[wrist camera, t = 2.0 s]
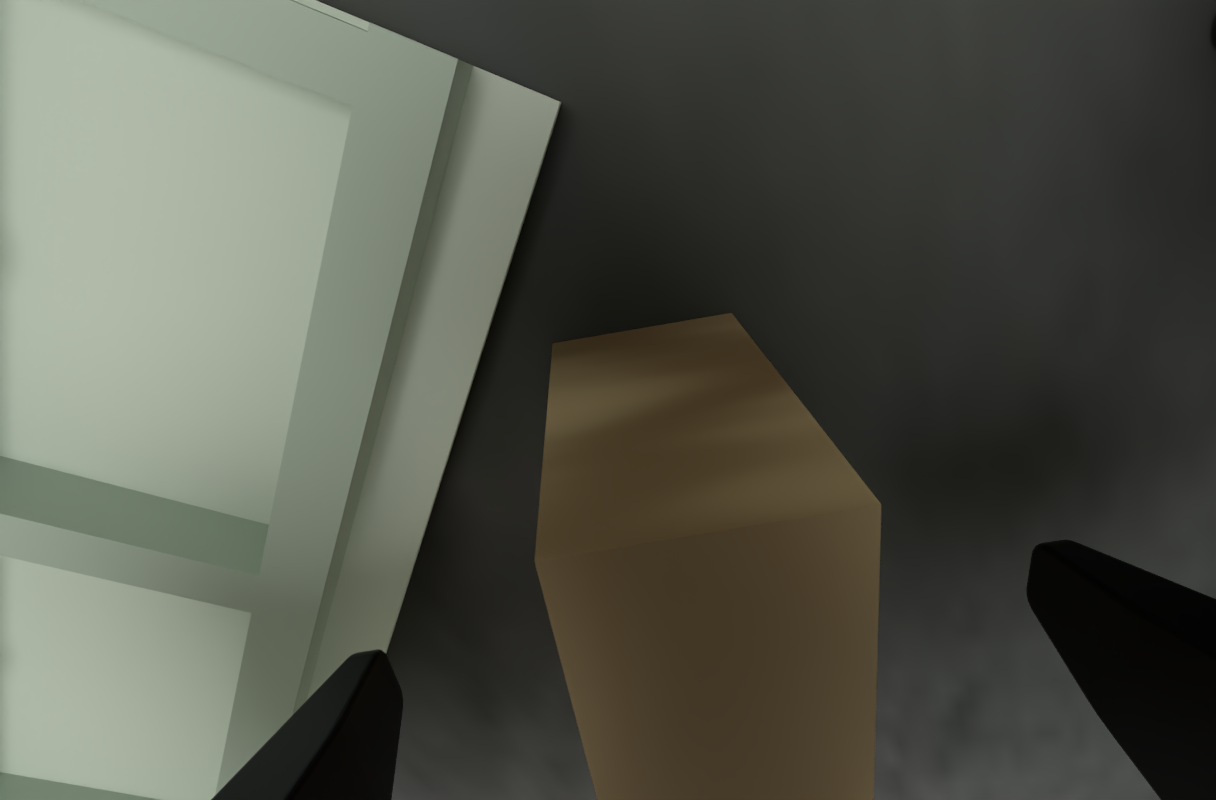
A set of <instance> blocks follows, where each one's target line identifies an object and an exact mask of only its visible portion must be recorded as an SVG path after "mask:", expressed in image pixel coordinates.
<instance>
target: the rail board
mask: <svg viewBox="0 0 1216 800" xmlns="http://www.w3.org/2000/svg"><path fill="white" fill-rule="evenodd" d="M560 106H561V102H559V101H557V100H554V99H552V98H550V97H547V96H545V95H542V94H540V93H538V92H535V91H533V90H530V89H528V88H526V87H523V86H521V85H518V84H516V83H514V82H511V81H509V80H506V79H504V78H502V77H499V76H497V75H494V74H492V73H489V72H487V71H485V70H482V69H480V68H477V67H475V66H473V65H470V64H468V63H466V62H464V61H461V60H459V59H457V58H454V57H452V56H449V55H447V54H445V53H442V52H440V51H437V50H435V49H433V48H430V47H428V46H425V45H423V44H421V43H418V42H416V41H413V40H411V39H409V38H406V37H404V36H401V35H399V34H397V33H394V32H392V31H389V30H387V29H384V28H382V27H380V26H377V25H375V24H372V23H370V22H367V21H364V20H362V19H360V18H357V17H355V16H352V15H350V14H348V13H345V12H343V11H340V10H338V9H336V8H333V7H331V6H328V5H326V4H323V3H321V2H319V1H316V0H0V800H211V799H212V798H213V797H214V796H215V795H216V794H217V793H218V792H219V791H220V790H221V789H222V788H223V787H224V786H225V784H226V783H227V782H228V781H229V780H230V779H231V778H232V777H233V776H234V775H235V774H236V773H237V772H238V771H239V770H240V769H241V768H242V767H243V766H244V765H245V764H246V763H247V762H248V761H249V760H250V759H251V758H252V756H253V755H254V754H255V753H256V752H257V751H258V750H259V749H260V748H261V747H262V746H263V745H264V744H265V743H266V742H267V741H268V740H269V739H270V738H271V737H272V736H273V735H274V734H275V733H276V732H277V731H278V730H279V729H280V727H281V726H282V725H283V724H284V723H285V722H286V721H287V720H288V719H289V718H290V717H291V716H292V715H293V714H294V713H295V712H296V711H297V710H298V709H299V708H300V707H301V706H302V705H303V704H304V703H305V702H306V701H307V699H308V698H309V697H310V696H311V695H312V694H313V693H314V692H315V691H316V690H317V689H318V688H319V687H320V686H321V685H322V684H323V683H324V682H325V681H326V680H327V679H328V678H329V677H330V676H331V675H332V674H333V673H334V672H335V670H336V669H337V668H338V667H339V666H340V665H341V664H342V663H343V662H344V661H345V660H346V659H347V658H348V657H349V656H351V655H352V654H354V653H357V652H363V651H370V650H376V649H379V650H382V651H384V652H385V653H387V650H388V647H389V644H390V641H391V637H392V634H393V631H394V628H395V625H396V622H397V619H398V615H399V612H400V609H401V606H402V603H403V600H404V597H405V593H406V590H407V587H408V584H409V581H410V578H411V575H412V571H413V568H414V565H415V562H416V559H417V556H418V553H419V549H420V546H421V543H422V540H423V537H424V534H425V531H426V527H427V524H428V521H429V518H430V515H431V512H432V509H433V505H434V502H435V499H436V496H437V493H438V490H439V487H440V483H441V480H442V477H443V474H444V471H445V468H446V465H447V461H448V458H449V455H450V452H451V449H452V446H453V443H454V439H455V436H456V433H457V430H458V427H459V424H460V421H461V417H462V414H463V411H464V408H465V405H466V402H467V399H468V395H469V392H470V389H471V386H472V383H473V380H474V377H475V373H476V370H477V367H478V364H479V361H480V358H481V355H482V351H483V348H484V345H485V342H486V339H487V336H488V333H489V329H490V326H491V323H492V320H493V317H494V314H495V311H496V307H497V304H498V301H499V298H500V295H501V292H502V289H503V285H504V282H505V279H506V276H507V273H508V270H509V267H510V263H511V260H512V257H513V254H514V251H515V248H516V245H517V241H518V238H519V235H520V232H521V229H522V226H523V223H524V219H525V216H526V213H527V210H528V207H529V204H530V201H531V197H532V194H533V191H534V188H535V185H536V182H537V179H538V175H539V172H540V169H541V166H542V163H543V160H544V157H545V153H546V150H547V147H548V144H549V141H550V138H551V135H552V131H553V128H554V125H555V122H556V119H557V116H558V113H559V109H560Z"/></svg>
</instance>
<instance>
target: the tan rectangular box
mask: <svg viewBox="0 0 1216 800" xmlns="http://www.w3.org/2000/svg"><path fill="white" fill-rule="evenodd" d="M880 539H881V503H880V502H879V501H878V500H877V498H876V497H875V496H874V494H873V493H872V492H871V491H870V489H869V488H868V487H867V485H866V484H865V483H864V482H863V480H862V479H861V478H860V476H859V475H858V474H857V473H856V471H855V470H854V469H853V468H852V466H851V465H850V464H849V462H848V461H847V460H846V459H845V457H844V456H843V455H842V453H841V452H840V451H839V450H838V448H837V447H836V446H835V445H834V443H833V442H832V441H831V439H830V438H829V437H828V436H827V434H826V433H825V432H824V430H823V429H822V428H821V427H820V425H819V424H818V423H817V421H816V420H815V419H814V418H813V416H812V415H811V414H810V413H809V411H808V410H807V409H806V407H805V406H804V405H803V404H802V402H801V401H800V400H799V398H798V397H797V396H796V395H795V393H794V392H793V391H792V390H791V388H790V387H789V386H788V384H787V383H786V382H785V381H784V379H783V378H782V377H781V375H780V374H779V373H778V372H777V370H776V369H775V368H774V366H773V365H772V364H771V363H770V361H769V360H768V359H767V358H766V356H765V355H764V354H763V352H762V351H761V350H760V349H759V347H758V346H757V345H756V343H755V342H754V341H753V340H752V338H751V337H750V336H749V335H748V333H747V332H746V331H745V329H744V328H743V327H742V326H741V324H740V323H739V322H738V320H737V319H736V318H735V317H734V315H733V314H732V313H728V314H722V315H716V316H710V317H704V318H698V319H692V320H686V321H681V322H675V323H669V324H663V325H657V326H651V327H645V328H639V329H634V330H628V331H622V332H616V333H610V334H604V335H598V336H592V337H586V338H581V339H575V340H569V341H563V342H557V343H553V345H552V357H551V369H550V381H549V393H548V405H547V416H546V428H545V440H544V452H543V464H542V476H541V488H540V500H539V512H538V524H537V536H536V548H535V559H534V562H535V565H536V569H537V573H538V577H539V581H540V584H541V588H542V592H543V596H544V600H545V603H546V607H547V611H548V615H549V619H550V622H551V626H552V630H553V634H554V638H555V641H556V645H557V649H558V653H559V657H560V660H561V664H562V668H563V672H564V676H565V679H566V683H567V687H568V691H569V695H570V698H571V702H572V706H573V710H574V714H575V717H576V721H577V725H578V729H579V733H580V736H581V740H582V744H583V748H584V752H585V755H586V759H587V763H588V767H589V771H590V774H591V778H592V782H593V786H594V790H595V793H596V797H597V800H874V764H875V726H876V689H877V651H878V614H879V576H880Z"/></svg>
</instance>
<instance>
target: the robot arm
mask: <svg viewBox="0 0 1216 800" xmlns="http://www.w3.org/2000/svg"><path fill="white" fill-rule="evenodd" d="M1027 598H1028V602H1029V604H1030V607H1031V609H1032V610H1033V612H1034V614H1035V615H1036V617H1037V619H1038V620H1039V622H1040V623H1041V625H1042V627H1043V628H1044V630H1045V632H1046V633H1047V635H1048V636H1049V638H1050V640H1051V641H1052V643H1053V645H1054V646H1055V648H1056V649H1057V651H1058V653H1059V654H1060V656H1061V658H1062V659H1063V661H1064V662H1065V664H1066V666H1067V667H1068V669H1069V671H1070V672H1071V674H1072V675H1073V677H1074V679H1075V680H1076V682H1077V683H1078V685H1079V687H1080V688H1081V690H1082V692H1083V693H1084V695H1085V696H1086V698H1087V700H1088V701H1089V703H1090V704H1091V706H1092V707H1093V709H1094V710H1095V712H1096V713H1097V715H1098V716H1099V717H1100V719H1101V720H1102V722H1103V723H1104V724H1105V726H1106V727H1107V729H1108V730H1109V731H1110V733H1111V734H1112V735H1113V737H1114V738H1115V739H1116V741H1117V742H1118V743H1119V745H1120V746H1121V747H1122V749H1123V750H1124V751H1125V753H1126V754H1127V755H1128V757H1129V758H1130V759H1131V761H1132V762H1133V763H1134V765H1135V766H1136V767H1137V768H1138V770H1139V771H1140V772H1141V774H1142V775H1143V776H1144V778H1145V779H1146V780H1147V782H1148V783H1149V784H1150V786H1151V787H1152V788H1153V790H1154V791H1155V792H1156V794H1157V795H1158V796H1159V798H1160V799H1161V800H1216V599H1214V598H1212V597H1209V596H1207V595H1204V594H1202V593H1199V592H1197V591H1194V590H1192V589H1190V588H1187V587H1185V586H1182V585H1180V584H1177V583H1175V582H1172V581H1170V580H1167V579H1165V578H1163V577H1160V576H1158V575H1155V574H1153V573H1150V572H1148V571H1145V570H1143V569H1140V568H1138V567H1136V566H1133V565H1131V564H1128V563H1126V562H1123V561H1121V560H1118V559H1116V558H1113V557H1111V556H1109V555H1106V554H1104V553H1101V552H1099V551H1096V550H1094V549H1091V548H1089V547H1086V546H1084V545H1082V544H1079V543H1077V542H1074V541H1071V540H1059V541H1052V542H1046V543H1041V544H1038V545H1036V546H1035V548H1034V549H1033V551H1032V556H1031V563H1030V569H1029V576H1028V582H1027ZM402 710H403V696H402V691H401V688H400V685H399V683H398V681H397V678H396V676H395V673H394V671H393V669H392V666H391V664H390V662H389V659H388V657H387V655H386V653H385V652H384V651H382V650H379V649H376V650H370V651H363V652H357V653H354V654H352V655H351V656H349V657H348V658H347V659H346V660H345V661H344V662H343V663H342V664H341V665H340V666H339V667H338V668H337V669H336V670H335V672H334V673H333V674H332V675H331V676H330V677H329V678H328V679H327V680H326V681H325V682H324V683H323V684H322V685H321V686H320V687H319V688H318V689H317V690H316V691H315V692H314V693H313V694H312V695H311V696H310V697H309V698H308V699H307V701H306V702H305V703H304V704H303V705H302V706H301V707H300V708H299V709H298V710H297V711H296V712H295V713H294V714H293V715H292V716H291V717H290V718H289V719H288V720H287V721H286V722H285V723H284V724H283V725H282V726H281V727H280V729H279V730H278V731H277V732H276V733H275V734H274V735H273V736H272V737H271V738H270V739H269V740H268V741H267V742H266V743H265V744H264V745H263V746H262V747H261V748H260V749H259V750H258V751H257V752H256V753H255V754H254V755H253V756H252V758H251V759H250V760H249V761H248V762H247V763H246V764H245V765H244V766H243V767H242V768H241V769H240V770H239V771H238V772H237V773H236V774H235V775H234V776H233V777H232V778H231V779H230V780H229V781H228V782H227V783H226V784H225V786H224V787H223V788H222V789H221V790H220V791H219V792H218V793H217V794H216V795H215V796H214V797H213V798H212V799H211V800H391V798H392V790H393V782H394V774H395V766H396V758H397V750H398V742H399V734H400V726H401V718H402Z"/></svg>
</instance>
